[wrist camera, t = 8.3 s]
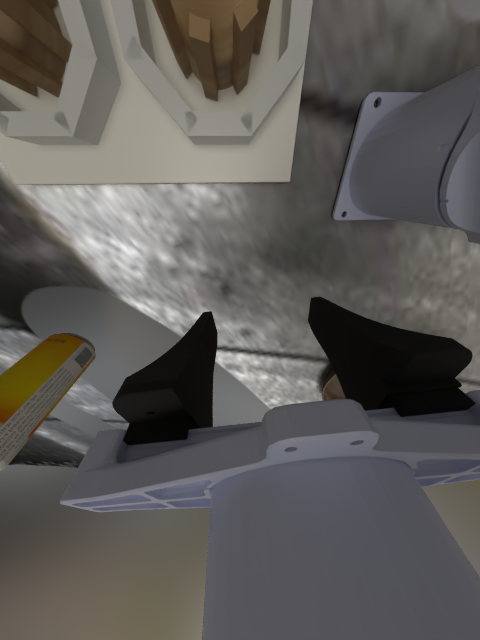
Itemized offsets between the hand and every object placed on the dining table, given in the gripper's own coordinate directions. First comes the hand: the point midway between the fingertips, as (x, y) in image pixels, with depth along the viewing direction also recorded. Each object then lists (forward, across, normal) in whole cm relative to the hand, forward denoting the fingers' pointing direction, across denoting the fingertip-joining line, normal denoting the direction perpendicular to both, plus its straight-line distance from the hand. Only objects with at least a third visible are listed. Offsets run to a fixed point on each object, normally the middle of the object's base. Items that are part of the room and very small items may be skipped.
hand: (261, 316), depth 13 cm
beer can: (+10, +27, +8) cm, 30 cm away
